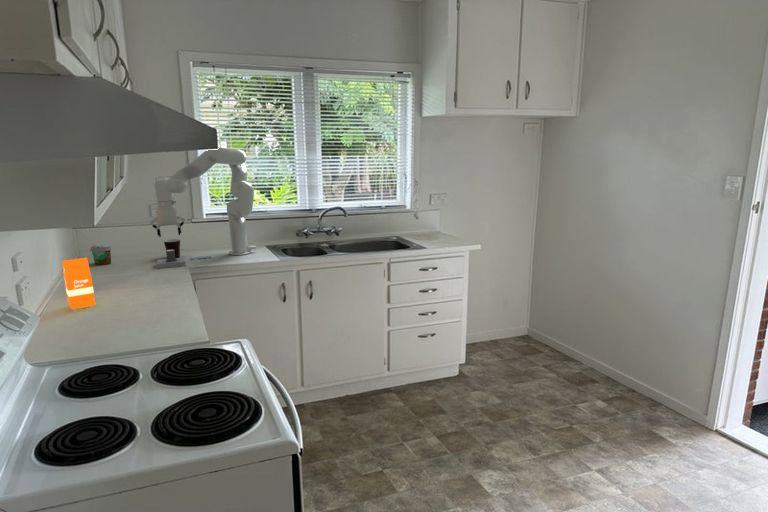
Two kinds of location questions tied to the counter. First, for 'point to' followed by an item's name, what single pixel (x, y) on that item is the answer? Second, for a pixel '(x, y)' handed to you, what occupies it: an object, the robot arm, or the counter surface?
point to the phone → (200, 257)
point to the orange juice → (78, 283)
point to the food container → (101, 255)
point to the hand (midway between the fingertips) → (169, 235)
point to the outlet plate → (171, 263)
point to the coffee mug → (173, 246)
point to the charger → (170, 255)
